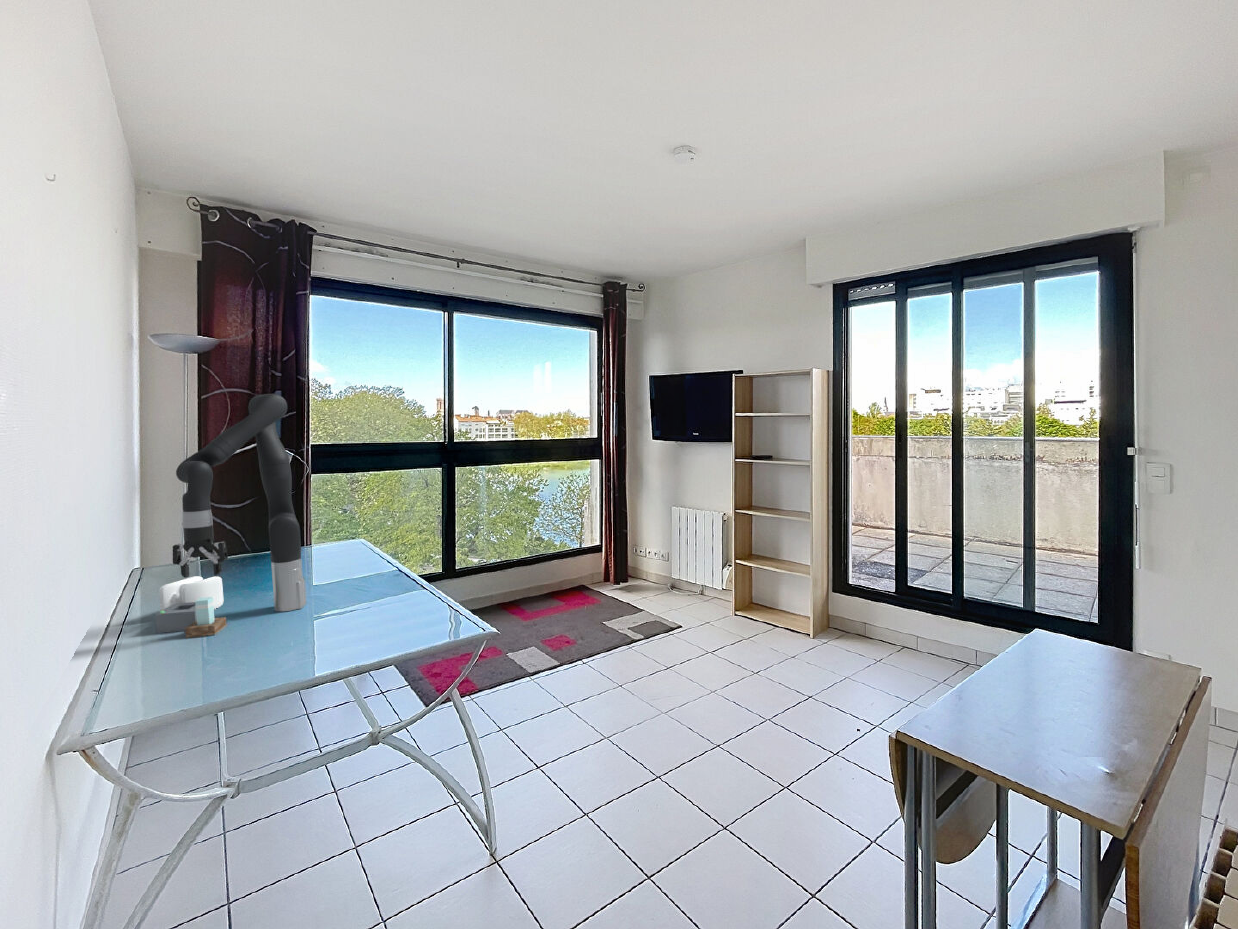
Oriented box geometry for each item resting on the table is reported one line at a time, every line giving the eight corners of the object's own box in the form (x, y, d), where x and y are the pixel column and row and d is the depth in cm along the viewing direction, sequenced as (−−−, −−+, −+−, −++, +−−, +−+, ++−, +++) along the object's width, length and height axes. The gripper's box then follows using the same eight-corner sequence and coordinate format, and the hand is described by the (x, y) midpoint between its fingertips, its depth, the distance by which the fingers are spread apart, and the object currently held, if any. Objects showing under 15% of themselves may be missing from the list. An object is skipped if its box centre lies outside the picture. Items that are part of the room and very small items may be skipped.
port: (212, 618, 195) (210, 599, 195) (196, 629, 185) (194, 609, 184) (175, 621, 193) (173, 602, 193) (156, 633, 182) (155, 613, 182)
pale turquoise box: (215, 627, 184) (212, 596, 183) (210, 631, 181) (207, 600, 180) (203, 628, 183) (200, 597, 183) (197, 632, 180) (194, 601, 179)
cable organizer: (185, 621, 193) (182, 587, 192) (159, 619, 196) (156, 586, 195) (224, 606, 208) (222, 575, 207) (200, 605, 210) (198, 574, 209)
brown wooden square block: (226, 626, 187) (225, 617, 187) (215, 635, 179) (214, 625, 179) (198, 628, 185) (198, 619, 185) (185, 637, 177) (185, 628, 177)
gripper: (229, 521, 185) (232, 571, 186) (178, 524, 182) (182, 574, 183) (218, 525, 177) (221, 577, 179) (165, 528, 175) (169, 580, 176)
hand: (201, 575), depth 181 cm, fingers open, 8 cm apart
